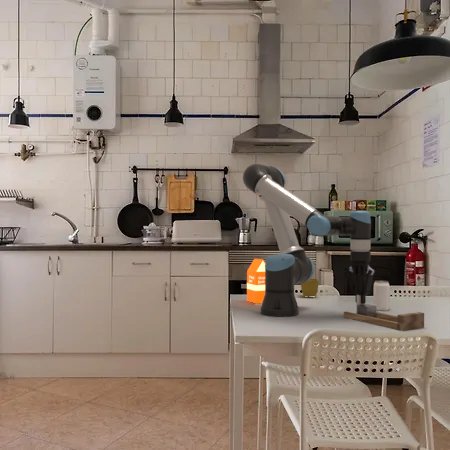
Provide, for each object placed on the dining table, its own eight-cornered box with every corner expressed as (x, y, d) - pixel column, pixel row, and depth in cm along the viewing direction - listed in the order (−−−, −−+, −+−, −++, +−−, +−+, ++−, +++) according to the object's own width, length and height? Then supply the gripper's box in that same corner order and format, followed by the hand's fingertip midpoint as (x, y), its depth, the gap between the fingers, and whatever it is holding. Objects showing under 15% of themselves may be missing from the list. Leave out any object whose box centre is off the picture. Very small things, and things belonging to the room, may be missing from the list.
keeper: (367, 320, 168) (367, 307, 168) (356, 318, 172) (357, 305, 172) (376, 319, 170) (376, 305, 170) (366, 316, 175) (366, 304, 175)
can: (373, 310, 189) (373, 281, 190) (373, 307, 196) (373, 280, 196) (389, 311, 187) (389, 282, 187) (389, 308, 193) (389, 280, 193)
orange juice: (255, 304, 203) (255, 259, 203) (246, 301, 211) (246, 258, 211) (270, 303, 206) (270, 259, 206) (261, 300, 214) (261, 258, 214)
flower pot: (300, 295, 231) (300, 278, 231) (317, 296, 230) (317, 278, 230) (300, 298, 222) (300, 279, 222) (318, 298, 221) (318, 280, 221)
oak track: (402, 330, 150) (402, 315, 150) (343, 317, 174) (343, 304, 174) (424, 327, 156) (424, 313, 156) (364, 314, 179) (364, 301, 179)
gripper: (380, 251, 171) (380, 313, 170) (354, 250, 182) (354, 308, 182) (366, 251, 167) (366, 315, 167) (341, 250, 178) (341, 310, 178)
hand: (360, 311), depth 174 cm, fingers closed
